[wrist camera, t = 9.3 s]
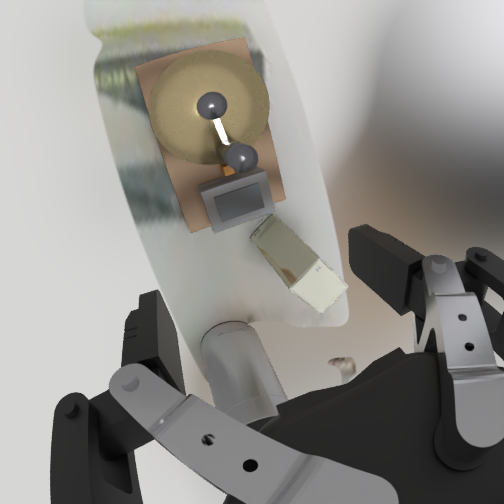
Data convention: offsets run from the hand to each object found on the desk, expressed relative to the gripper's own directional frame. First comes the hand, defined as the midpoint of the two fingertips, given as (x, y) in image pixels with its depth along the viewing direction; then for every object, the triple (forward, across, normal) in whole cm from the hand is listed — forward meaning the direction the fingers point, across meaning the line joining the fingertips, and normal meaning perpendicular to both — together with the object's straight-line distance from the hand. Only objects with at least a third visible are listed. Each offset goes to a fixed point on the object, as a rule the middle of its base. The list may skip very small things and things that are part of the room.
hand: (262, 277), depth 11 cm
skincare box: (+24, -8, +11) cm, 27 cm away
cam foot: (+21, -3, -7) cm, 23 cm away
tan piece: (+23, -3, -4) cm, 24 cm away
